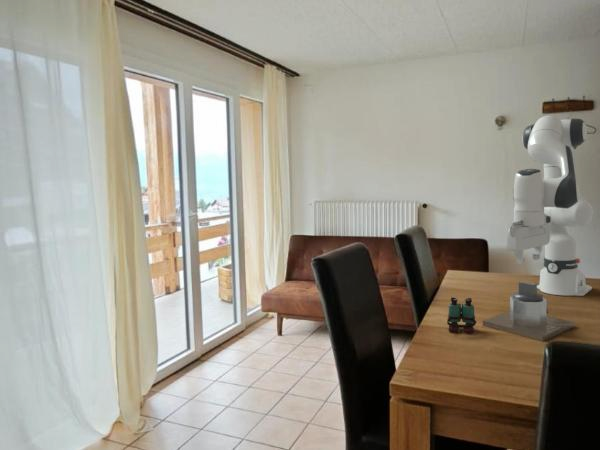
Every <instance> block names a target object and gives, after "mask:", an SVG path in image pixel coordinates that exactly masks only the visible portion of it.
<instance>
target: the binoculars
mask: <svg viewBox="0 0 600 450" xmlns="http://www.w3.org/2000/svg"><path fill="white" fill-rule="evenodd" d="M472 299H473V298H471V297H468V298H465V300H464V302H465V303H464V302H463V303H460V302H459V303H458V298H457V297H450V302H451V303H449V304H448V315H447V321H446V322H447V323H446V324H447V326H448V332H450V333H453V334H458V333H460V329H463V330H462V331H463V333H464V334H466V335H471V334H473V333H474V332H475V327H474V326H476V324H477V321H476V315H475V305H474V304H472V301H473V300H472ZM461 320H462V322H463V323H465V324H459V323H460V322H461Z"/></svg>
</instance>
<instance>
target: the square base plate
mask: <svg viewBox="0 0 600 450" xmlns="http://www.w3.org/2000/svg"><path fill="white" fill-rule="evenodd" d="M547 303H548V300H547V298H545V297H544V296H543V300H542V301H536V302H529V301H521V300H517V299H514V298H513V294H511V295H510V296H509V311H506V312H503V313H501V314H498V315H496V316H492V317H490V318H487V319H484V320H482V326H485V327H489V328H492V329H496V330H500V331H503V332H507V333H510V334H515V335H518V336H522V337H526V338H529V339H533V340H537V341H541V342H543V341H546V340H549V339H551V338H553V337H555V336H558V335H559V334H561V333H563V332H566V331H567V330H570V329H572V328H575V323H576V322H575V321H571V320H567V319H562V318H557V317H553V316H548V315H547V312H548V311H547V308H548V307H547V306H548V305H547Z"/></svg>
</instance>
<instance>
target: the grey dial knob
mask: <svg viewBox="0 0 600 450" xmlns="http://www.w3.org/2000/svg"><path fill="white" fill-rule="evenodd" d="M537 285H538V284H537V283H533V282H529V281H519V282H518V291H515V292H513V293H512V295H513V298H514V299H517V300H521V301H529V302H536V301H542V300H543V297H544V294H542V293H539V292H538V288H537Z"/></svg>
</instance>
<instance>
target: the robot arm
mask: <svg viewBox="0 0 600 450" xmlns="http://www.w3.org/2000/svg"><path fill="white" fill-rule="evenodd" d="M587 134H588V128H587V125H586V123H585V121H584V120H583V119H582V118H575V117H574V118H571V119H570V118H569V119H560V118H559V117H557V116H554V115H550V114H549V115H544V116H541V117H540V118H538V119H537V120H536V122H535V123H533V124H531V125H528V126H526V127H525V128H524V129H523V132H522V138H521V139H522V144H523V147H524V148H525V149H526V150H527V153H528V155H529V156H530V158H532V159H533V160H534V161H535V162H537V163H539V164H543V171H542V170H541V169H537V168H527V169H521V170H519V171H517V172H516V173H515V175H514V183H513V190H512V194H513V196H512V198H513V201H514V207H513V222H512V223H511V225H510V226H509V228H508V230H507V236H506V249H507V251H509V252H514V256H515V258H516V263H517V264H518V265H524V264H525V263H526V262H525V261H526V260H525V257H524V256H523V254H524V251H526V250H529V249H534V250H533V253H532V260H541V253H542V250H543V246H544V258H543V268H542V269H540V274H539V275H540V276H539V284H537V290H540V291H541V292H542V293H545V294H548V295H555V296H568V297H569V296H578V297H579V296H581V297H583V296H585V295H586V294H588V293H589V292H590V291H592V289H593V287H592V286H590V285H588V284H586V275H585V274H584V273H583V272H582V271H581V270H580V269H579V268H578V267H579V266H578V265H579V264H580V263H581V259H580V258H576V256H577V255H576V253H577V252H576V249H577V247H576V246H577V243H576V240H575V238H574V237H573V236H572V235H571V234H569V232H568V230H567V227H574V228H575V227H583V226H587V225H589V224H590V222H592V220H593V217H594V208H593V206H592V205H591V203H590V202H588V201H587V200H586V199H585V198H584V197H583V196H582V193H580V187H579V184H578V181H577V179H576V165H575V163H576V162H575V153H574V150H576V149H577V148H578V147H579V146H581V145H582V144H583V143H584V142H585V141H586V138H587Z"/></svg>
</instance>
